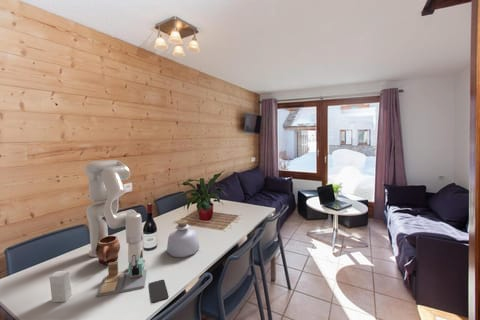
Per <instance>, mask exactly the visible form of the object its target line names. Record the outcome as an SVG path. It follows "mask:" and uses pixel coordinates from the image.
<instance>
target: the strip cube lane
mask: <svg viewBox="0 0 480 320" xmlns="http://www.w3.org/2000/svg"><path fill="white" fill-rule="evenodd" d="M143 251H144V250H143V249H141V255H140V258H143V270H145V264H146V260H145V259H144V255H143V253H144V252H143ZM141 276H143V274H142V275H138V276H132V277H129V279H130V278H135V277H141Z"/></svg>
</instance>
